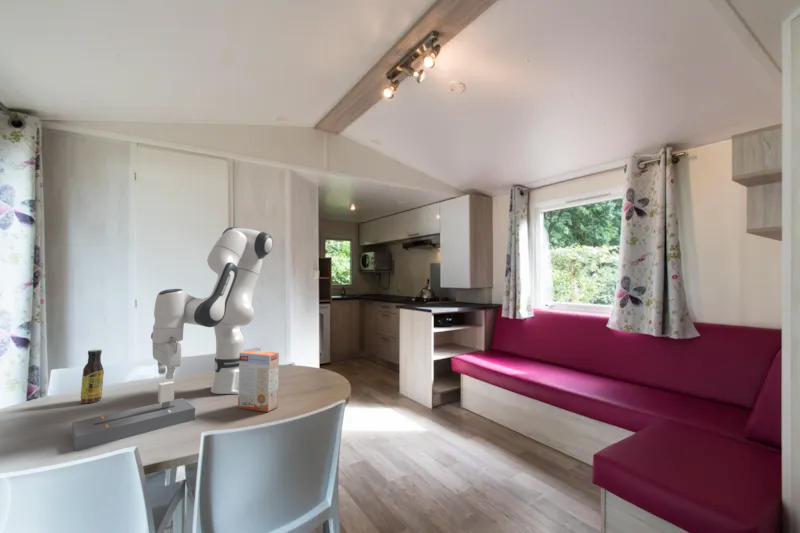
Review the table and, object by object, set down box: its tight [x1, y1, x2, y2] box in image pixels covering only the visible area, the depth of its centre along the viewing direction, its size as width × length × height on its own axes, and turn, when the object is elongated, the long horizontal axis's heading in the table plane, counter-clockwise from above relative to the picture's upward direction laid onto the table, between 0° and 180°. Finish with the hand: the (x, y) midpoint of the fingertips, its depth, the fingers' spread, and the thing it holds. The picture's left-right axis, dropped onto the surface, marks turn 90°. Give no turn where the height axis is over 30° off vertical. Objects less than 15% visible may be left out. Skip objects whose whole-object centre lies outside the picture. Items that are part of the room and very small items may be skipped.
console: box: [70, 397, 196, 452], centre depth 112 cm, size 30×14×4 cm, turn 138°
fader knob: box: [157, 380, 175, 408], centre depth 118 cm, size 4×3×8 cm
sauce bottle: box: [80, 349, 105, 404], centre depth 134 cm, size 6×6×20 cm
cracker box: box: [237, 350, 280, 413], centre depth 130 cm, size 14×6×21 cm, turn 71°
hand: (165, 376), depth 118 cm, fingers open, 8 cm apart
